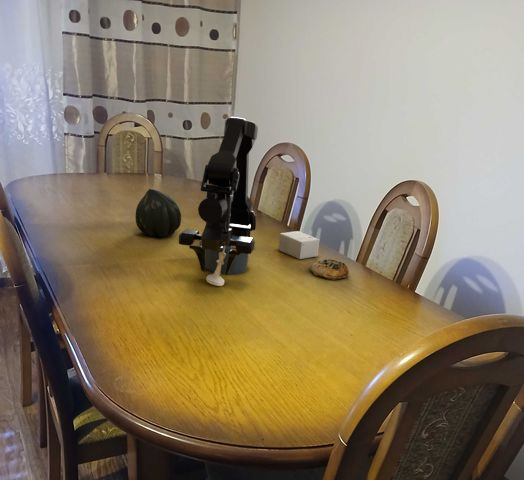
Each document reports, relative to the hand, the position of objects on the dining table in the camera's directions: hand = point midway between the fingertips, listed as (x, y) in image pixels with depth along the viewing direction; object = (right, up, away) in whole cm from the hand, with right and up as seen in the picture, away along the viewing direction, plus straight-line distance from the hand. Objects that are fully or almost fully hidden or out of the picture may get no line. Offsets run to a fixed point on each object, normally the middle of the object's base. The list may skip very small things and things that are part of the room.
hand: (214, 273), depth 148 cm
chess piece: (0, -2, +1) cm, 3 cm away
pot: (+2, +4, +14) cm, 14 cm away
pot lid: (+2, +10, +11) cm, 15 cm away
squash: (-22, +17, +36) cm, 45 cm away
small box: (+21, +15, +34) cm, 43 cm away
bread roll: (+32, +2, +17) cm, 36 cm away
